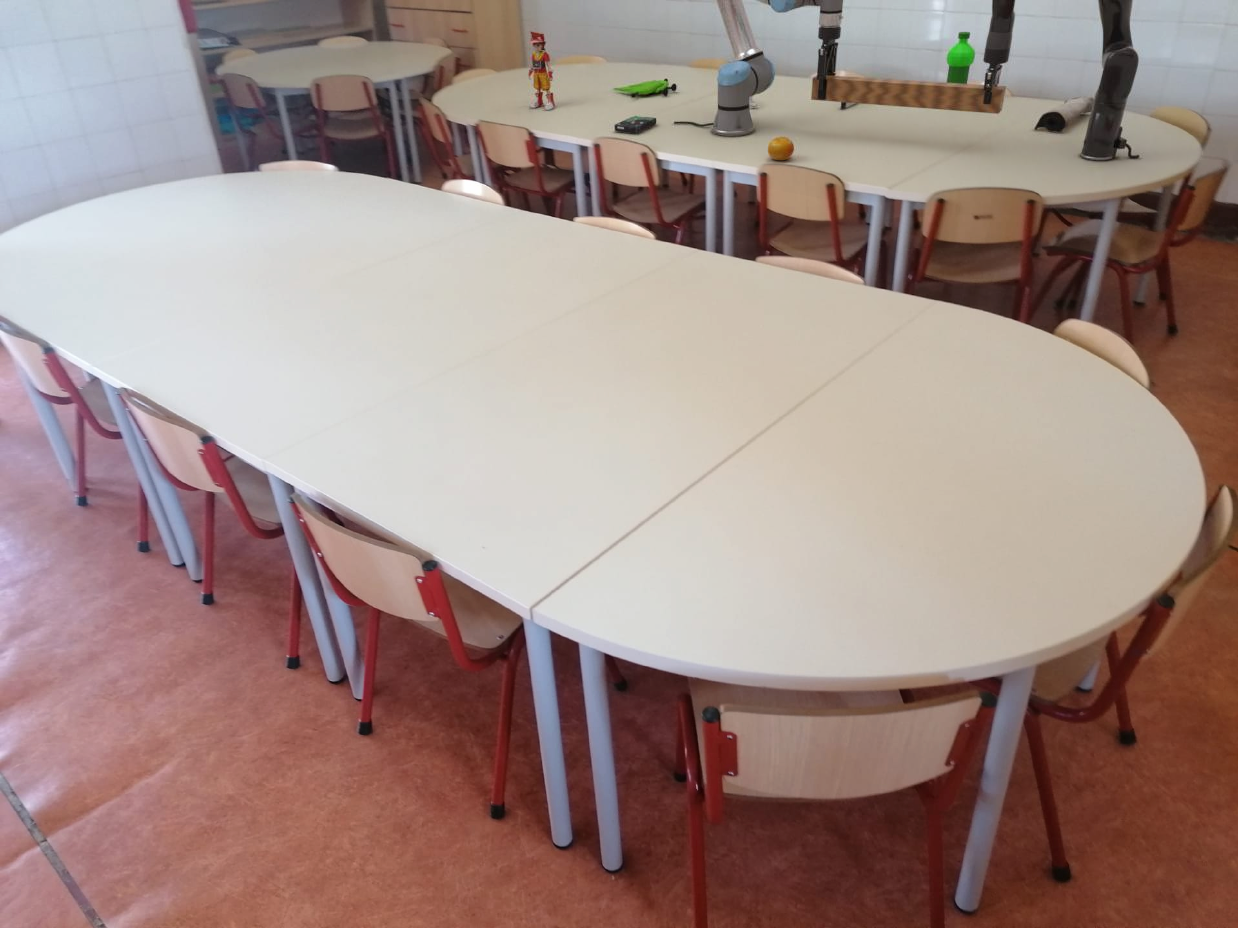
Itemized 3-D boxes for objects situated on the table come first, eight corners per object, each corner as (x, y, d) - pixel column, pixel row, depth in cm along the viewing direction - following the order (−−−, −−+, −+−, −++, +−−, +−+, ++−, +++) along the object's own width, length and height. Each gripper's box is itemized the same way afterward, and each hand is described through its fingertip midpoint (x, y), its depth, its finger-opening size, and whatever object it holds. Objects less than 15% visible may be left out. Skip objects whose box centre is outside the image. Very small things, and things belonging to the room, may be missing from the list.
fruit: (761, 151, 301) (775, 129, 298) (766, 153, 309) (779, 132, 306) (781, 165, 300) (795, 143, 297) (786, 167, 307) (800, 146, 304)
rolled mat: (1062, 101, 334) (1086, 84, 326) (1075, 122, 335) (1100, 105, 327) (1030, 123, 317) (1055, 105, 309) (1044, 145, 318) (1070, 128, 309)
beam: (811, 100, 322) (812, 77, 318) (816, 96, 325) (817, 74, 321) (998, 114, 293) (1003, 90, 289) (1001, 110, 297) (1006, 86, 292)
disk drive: (637, 135, 339) (656, 124, 349) (637, 127, 338) (656, 117, 348) (614, 132, 344) (634, 122, 354) (613, 125, 343) (633, 115, 353)
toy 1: (525, 109, 381) (517, 32, 364) (534, 104, 388) (527, 28, 371) (550, 110, 377) (543, 32, 360) (559, 105, 384) (553, 28, 367)
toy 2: (686, 85, 398) (631, 84, 414) (685, 72, 395) (629, 72, 411) (651, 104, 381) (596, 103, 397) (650, 92, 378) (594, 91, 394)
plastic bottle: (973, 101, 354) (984, 32, 339) (955, 106, 349) (966, 36, 335) (952, 97, 361) (962, 29, 346) (934, 102, 356) (944, 33, 342)
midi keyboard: (843, 109, 354) (844, 96, 351) (840, 109, 355) (841, 95, 352) (865, 100, 365) (866, 87, 362) (862, 99, 365) (863, 86, 362)
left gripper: (831, 31, 300) (825, 104, 313) (849, 22, 313) (843, 92, 326) (810, 30, 304) (805, 102, 317) (828, 21, 316) (823, 91, 329)
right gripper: (1005, 51, 279) (995, 108, 289) (1015, 42, 289) (1004, 98, 299) (980, 50, 282) (971, 106, 292) (990, 41, 292) (981, 96, 302)
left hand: (824, 97), depth 321 cm, fingers closed on beam, 5 cm apart
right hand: (988, 101), depth 295 cm, fingers closed on beam, 5 cm apart
